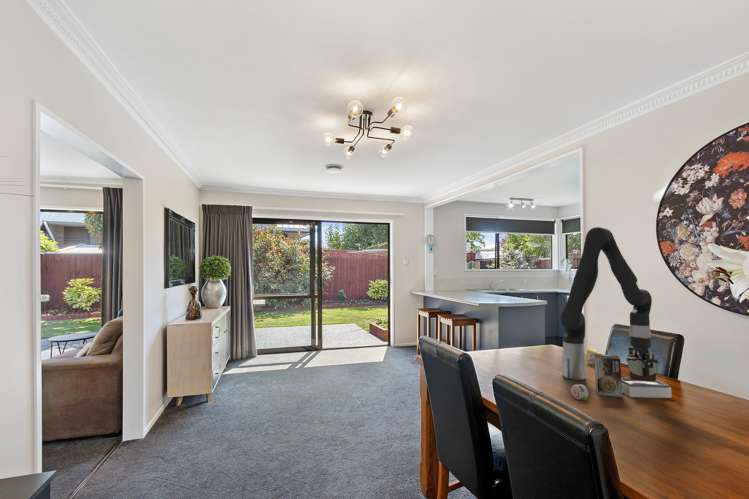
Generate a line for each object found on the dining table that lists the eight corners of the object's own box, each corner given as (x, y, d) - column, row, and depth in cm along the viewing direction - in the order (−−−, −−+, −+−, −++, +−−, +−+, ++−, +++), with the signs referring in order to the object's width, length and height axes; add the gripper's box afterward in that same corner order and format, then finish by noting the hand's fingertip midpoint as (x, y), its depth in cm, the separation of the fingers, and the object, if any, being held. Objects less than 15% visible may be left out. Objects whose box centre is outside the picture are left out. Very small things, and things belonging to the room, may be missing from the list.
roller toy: (580, 402, 149) (579, 387, 149) (569, 396, 155) (568, 382, 155) (589, 401, 149) (589, 386, 150) (578, 395, 156) (578, 382, 156)
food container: (654, 378, 160) (654, 355, 161) (660, 382, 155) (659, 359, 155) (621, 375, 164) (621, 353, 165) (626, 379, 158) (625, 356, 159)
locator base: (630, 396, 154) (629, 384, 154) (615, 388, 164) (615, 377, 165) (671, 397, 152) (671, 385, 152) (654, 389, 163) (653, 377, 163)
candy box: (586, 363, 206) (586, 349, 206) (590, 363, 206) (589, 348, 206) (608, 372, 190) (607, 356, 190) (612, 372, 190) (611, 355, 190)
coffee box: (619, 392, 159) (618, 355, 159) (622, 397, 153) (621, 358, 154) (595, 390, 162) (594, 353, 163) (597, 394, 157) (595, 356, 157)
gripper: (621, 332, 167) (622, 369, 166) (641, 338, 153) (642, 379, 152) (638, 332, 166) (640, 370, 166) (660, 338, 152) (662, 380, 151)
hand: (641, 374), depth 159 cm, fingers closed on food container, 5 cm apart
